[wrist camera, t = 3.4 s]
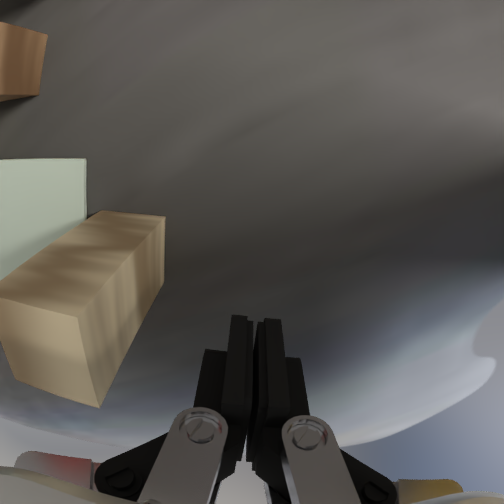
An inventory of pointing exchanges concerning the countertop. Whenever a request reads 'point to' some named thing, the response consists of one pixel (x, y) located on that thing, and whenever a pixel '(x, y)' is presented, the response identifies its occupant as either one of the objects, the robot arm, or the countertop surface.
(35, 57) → the walnut block
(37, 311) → the maple block
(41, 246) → the mat
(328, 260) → the countertop surface
